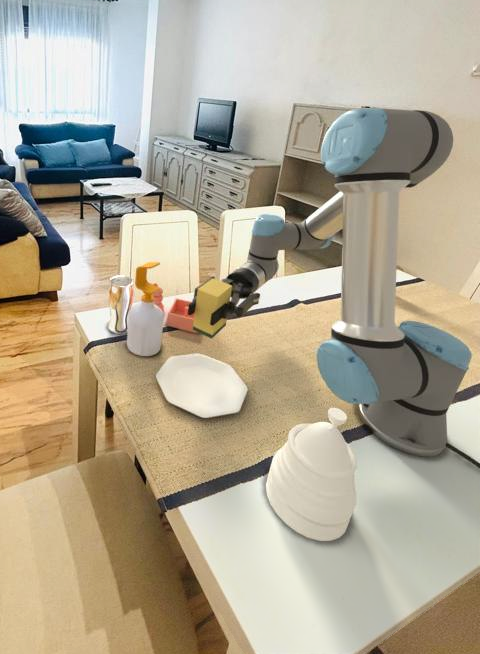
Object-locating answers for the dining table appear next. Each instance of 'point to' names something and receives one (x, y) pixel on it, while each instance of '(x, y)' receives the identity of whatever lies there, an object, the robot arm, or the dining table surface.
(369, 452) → the dining table surface
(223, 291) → the sponge
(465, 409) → the dining table surface
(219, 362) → the plate
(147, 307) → the soap bottle
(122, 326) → the beer glass
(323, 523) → the honey pot
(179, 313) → the pink open box
